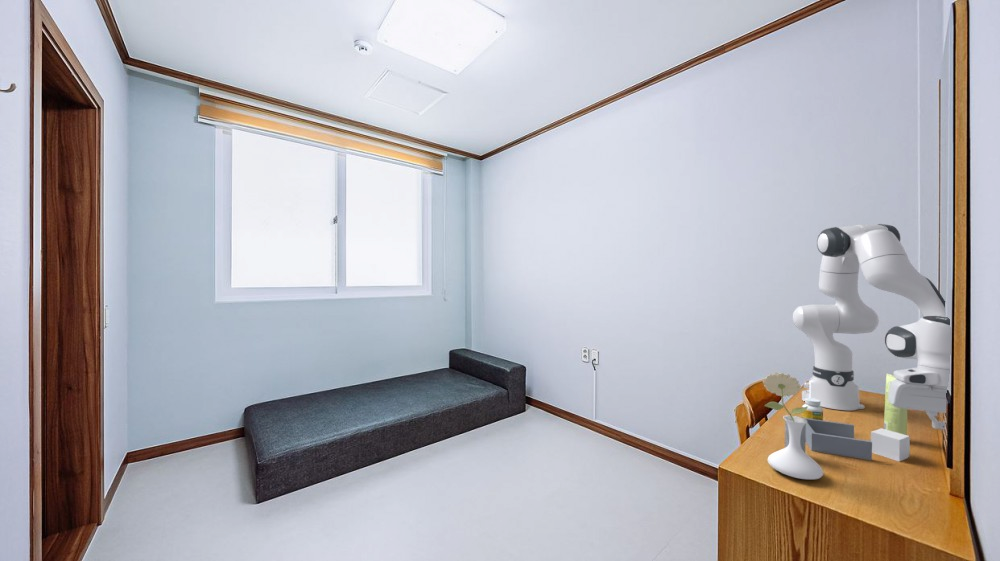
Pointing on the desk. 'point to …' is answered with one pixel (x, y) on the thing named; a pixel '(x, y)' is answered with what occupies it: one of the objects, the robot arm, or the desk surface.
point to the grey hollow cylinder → (802, 438)
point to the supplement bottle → (812, 409)
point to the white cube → (890, 444)
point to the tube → (894, 412)
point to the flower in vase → (791, 432)
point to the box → (836, 439)
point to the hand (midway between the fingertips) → (941, 429)
